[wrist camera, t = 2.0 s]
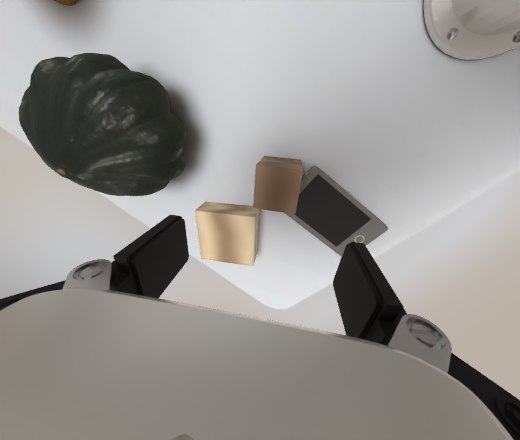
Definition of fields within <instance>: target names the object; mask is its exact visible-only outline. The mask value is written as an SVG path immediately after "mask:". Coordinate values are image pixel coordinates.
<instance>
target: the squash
mask: <svg viewBox="0 0 520 440" xmlns="http://www.w3.org/2000/svg"><path fill="white" fill-rule="evenodd" d="M170 111H171V102H170V98H169V95H168V93H167V92H166V90H165V89H164V87H163V86H162V85H161V84H160V83H159V82H158V81H156V80H155V79H154V78H152V77H150V76H148V75H145V74H142V73H140V72H134V71H130V70H129V69H128V68H127V67H126V66H125V65H124V64H123V63H121V62H120V61H119V60H118V59H116V58H115V57H113V56H111V55H106V54H96V53H84V54H79V55H74V56H73V57H71V58H67V57H55V58H50V59H46V60H42V61H41V62H39V63H38V64H37V65H36V67H35V69H34V71H33V73H32V75H31V82H30V86H29V87H28V89H27V90H26V91H25V93H24V96H23V98H22V103H21V105H20V107H19V121H20V124H21V127H22V129H23V131H24V132H25V134H26V136H27V138H28V140H29V141H30V143H31V144H32V146H33V147H34V149H35V151H36V152H37V153H38V154H39V155H40V157H41V158H42V160H43V161H44V162H45V163H46V164H47V165H48V166H49V167H50V168H51V169H52V170H54V171H55V172H57V173H58V174H59V175H61V176H62V177H65V178H68V179H70V180H71V181H73V182H75V183H77V184H79V185H82V186H84V187H87V188H90V189H93V190H95V191H99V192H102V193H105V194H109V195H116V196H125V195H126V196H144V195H150V194H153V193H155V192H157V191H160V190H161V189H163V188H165V187H166V186H167V184H168V183H169V181H170V180H171V179H173V178H175V177H177V176H178V175H180V173H181V172H182V171H183V169H184V166H185V161H184V155H183V152H182V151H183V148H184V145H185V143H186V138H187V137H186V127H185V125H184V123H183V122H182V121H181V120H180V119H179V118H178V117H177V116H175V115H173V114H172V113H170Z"/></svg>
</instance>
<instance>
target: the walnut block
mask: <svg viewBox="0 0 520 440" xmlns="http://www.w3.org/2000/svg"><path fill="white" fill-rule="evenodd" d="M302 175H303V168H302V164H301V160H296V159H287V158H277V157H268V156H264V157H263V158H262V159H261V161H260V162H259V163H258V164H257V165H256V174H255V189H254V204H253V208H255V209H263V210H270V211H278V212H285V213H292V214H295V213H296V208H297V202H298V197H299V191H300V186H301V181H302Z"/></svg>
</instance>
